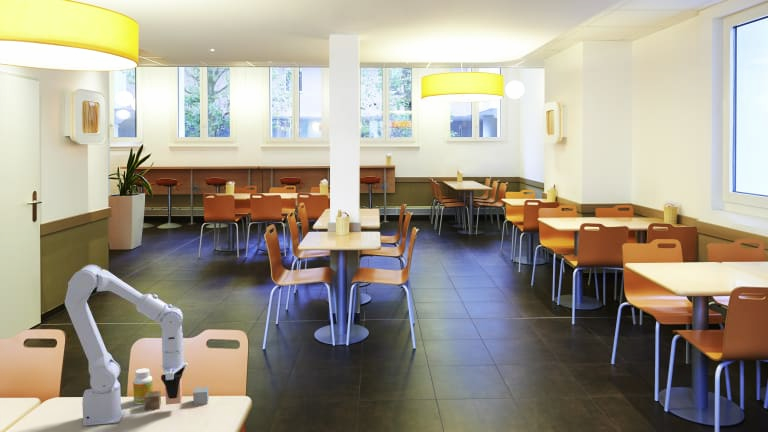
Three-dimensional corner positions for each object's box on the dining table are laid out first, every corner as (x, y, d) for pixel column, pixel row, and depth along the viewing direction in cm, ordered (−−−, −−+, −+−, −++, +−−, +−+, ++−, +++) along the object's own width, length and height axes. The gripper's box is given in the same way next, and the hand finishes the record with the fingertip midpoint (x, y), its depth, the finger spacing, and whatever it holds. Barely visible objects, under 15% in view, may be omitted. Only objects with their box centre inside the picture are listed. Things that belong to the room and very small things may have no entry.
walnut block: (144, 410, 164) (144, 397, 164) (146, 405, 168) (146, 392, 168) (159, 409, 165) (158, 396, 165) (161, 403, 169) (160, 390, 169)
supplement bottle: (147, 405, 168) (146, 373, 167) (130, 404, 168) (129, 373, 167) (156, 397, 173) (155, 367, 172) (139, 397, 173) (138, 367, 173)
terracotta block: (165, 404, 161) (165, 381, 160) (168, 399, 165) (167, 376, 164) (180, 403, 162) (179, 380, 161) (182, 397, 166) (181, 375, 165)
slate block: (193, 405, 168) (193, 392, 167) (195, 400, 172) (194, 387, 171) (207, 404, 169) (207, 391, 168) (208, 399, 172) (208, 386, 172)
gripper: (183, 356, 156) (185, 403, 157) (190, 341, 170) (191, 384, 171) (157, 358, 154) (158, 405, 155) (165, 342, 168) (166, 386, 170)
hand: (174, 394), depth 163 cm, fingers closed on terracotta block, 4 cm apart
